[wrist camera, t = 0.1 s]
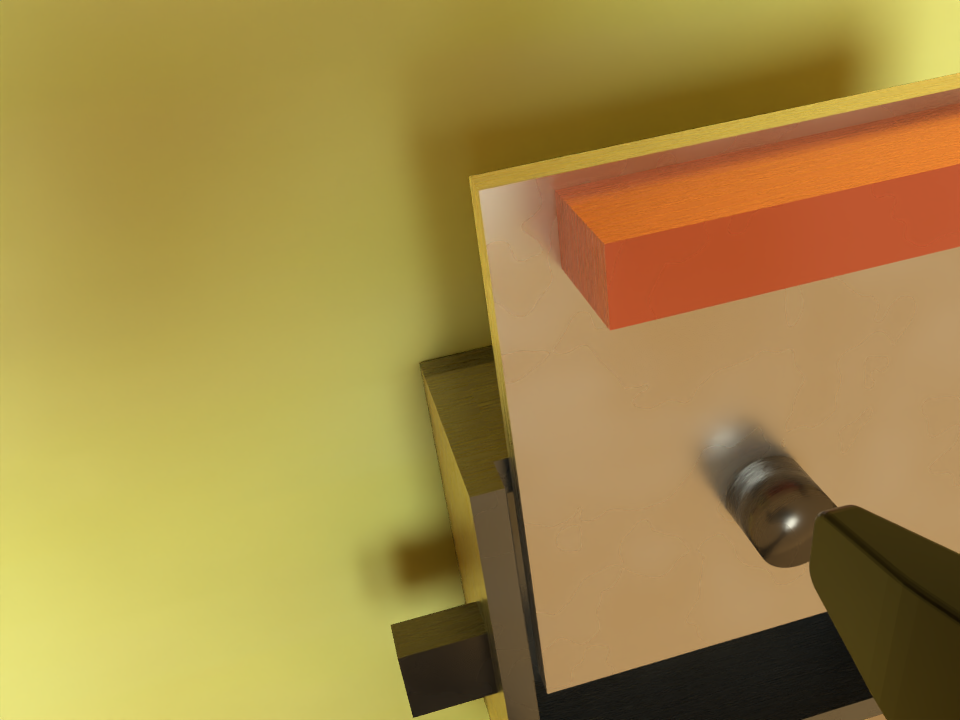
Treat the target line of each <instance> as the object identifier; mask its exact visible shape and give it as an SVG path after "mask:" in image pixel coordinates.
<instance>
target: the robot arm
mask: <svg viewBox="0 0 960 720" xmlns="http://www.w3.org/2000/svg"><path fill="white" fill-rule="evenodd" d="M809 572H810V577H811V580H812V583H813V586H814V588H815V590H816V592H817V594H818V596H819V597H820V599H821V601H822V603H823V605H824V607H825V609H826V611H827V612H828V614H829V616H830V618H831V620H832V622H833V624H834V626H835V627H836V629H837V631H838V633H839V635H840V637H841V639H842V641H843V642H844V644H845V646H846V648H847V650H848V652H849V654H850V656H851V657H852V659H853V661H854V663H855V665H856V667H857V669H858V671H859V672H860V674H861V676H862V678H863V680H864V682H865V684H866V686H867V687H868V689H869V691H870V693H871V694H872V696H873V698H874V700H875V701H876V703H877V705H878V707H879V708H880V710H881V711H882V713H883V715H884V716H885V718H886V719H887V720H960V554H959V553H957V552H955V551H953V550H951V549H949V548H947V547H945V546H942V545H940V544H938V543H936V542H934V541H932V540H930V539H927V538H925V537H923V536H921V535H919V534H917V533H915V532H913V531H910V530H908V529H906V528H904V527H902V526H900V525H898V524H896V523H893V522H891V521H889V520H887V519H885V518H883V517H881V516H878V515H876V514H874V513H872V512H870V511H868V510H866V509H864V508H861V507H859V506H856V505H844V506H840V507H836V508H832V509H828V510H825V511H822V512H820V513H819V514H818V515H817V516H816V518H815V521H814V528H813V536H812V544H811V552H810V560H809Z"/></svg>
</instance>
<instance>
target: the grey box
mask: <svg viewBox="0 0 960 720" xmlns="http://www.w3.org/2000/svg"><path fill="white" fill-rule="evenodd" d="M420 369H421V374H422V379H423V384H424V389H425V395H426V400H427V405H428V410H429V415H430V421H431V426H432V431H433V436H434V441H435V447H436V452H437V457H438V462H439V467H440V473H441V478H442V483H443V488H444V493H445V499H446V504H447V509H448V514H449V519H450V525H451V530H452V535H453V540H454V545H455V551H456V556H457V561H458V566H459V571H460V577H461V582H462V587H463V592H464V597H465V603H466V604H465V605H461V606H457V607H454V608H450V609H447V610H443V611H439V612H436V613H432V614H429V615H425V616H421V617H418V618H414V619H411V620H407V621H403V622H400V623H396V624H393V625H391V629H392V633H393V638H394V643H395V647H396V652H397V657H398V661H399V665H400V669H401V672H402V676H403V680H404V684H405V688H406V692H407V696H408V699H409V703H410V707H411V711H412V715H413V718H414V717H418V716H421V715H424V714H428V713H431V712H435V711H438V710H441V709H445V708H448V707H452V706H455V705H458V704H462V703H465V702H469V701H472V700H476V699H479V698H482V697H484V700H485V703H486V706H487V710H488V713H489V716H490V720H865V719H868V718H871V717H874V716H877V715H880V714H883V713H882V711H881V710H880V708H879V707H878V705H877V703H876V701H875V700H874V698H873V696H872V694H871V693H870V691H869V689H868V687H867V686H866V684H865V682H864V680H863V678H862V676H861V674H860V672H859V671H858V669H857V667H856V665H855V663H854V661H853V659H852V657H851V656H850V654H849V652H848V650H847V648H846V646H845V644H844V642H843V641H842V639H841V637H840V635H839V633H838V631H837V629H836V627H835V626H834V624H833V622H832V620H831V618H830V616H829V614H828V612H823V613H820V614H817V615H813V616H810V617H807V618H803V619H800V620H796V621H793V622H790V623H786V624H783V625H779V626H776V627H773V628H769V629H766V630H763V631H759V632H756V633H752V634H749V635H746V636H742V637H739V638H735V639H732V640H729V641H725V642H722V643H719V644H715V645H712V646H708V647H705V648H702V649H698V650H695V651H691V652H688V653H685V654H681V655H678V656H675V657H671V658H668V659H664V660H661V661H658V662H654V663H651V664H647V665H644V666H641V667H637V668H634V669H631V670H627V671H624V672H620V673H617V674H614V675H610V676H607V677H603V678H600V679H597V680H593V681H590V682H587V683H583V684H580V685H576V686H573V687H570V688H566V689H563V690H559V691H556V692H553V693H549V694H547V692H546V689H545V686H544V684H543V681H542V678H541V676H540V673H539V671H538V664H537V657H536V650H535V643H534V636H533V629H532V622H531V615H530V608H529V600H528V593H527V586H526V579H525V572H524V565H523V558H522V551H521V544H520V537H519V530H518V523H517V516H516V508H515V501H514V494H513V487H512V480H511V473H510V466H509V459H508V452H507V445H506V438H505V431H504V424H503V417H502V409H501V402H500V395H499V388H498V381H497V374H496V367H495V360H494V353H493V346H488V347H484V348H480V349H476V350H471V351H467V352H463V353H459V354H455V355H450V356H446V357H442V358H438V359H434V360H430V361H425V362H421V363H420Z"/></svg>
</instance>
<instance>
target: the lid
mask: <svg viewBox="0 0 960 720" xmlns="http://www.w3.org/2000/svg"><path fill="white" fill-rule="evenodd" d="M469 183H470V190H471V197H472V204H473V211H474V218H475V226H476V233H477V240H478V247H479V254H480V261H481V268H482V275H483V282H484V289H485V296H486V303H487V310H488V317H489V325H490V332H491V339H492V346H493V353H494V360H495V367H496V374H497V381H498V388H499V395H500V402H501V409H502V417H503V424H504V431H505V438H506V445H507V452H508V459H509V466H510V473H511V480H512V487H513V494H514V501H515V508H516V516H517V523H518V530H519V537H520V544H521V551H522V558H523V565H524V572H525V579H526V586H527V593H528V600H529V608H530V615H531V622H532V629H533V636H534V643H535V650H536V657H537V664H538V671H539V673H540V676H541V678H542V681H543V684H544V686H545V689H546V692H547V694H549V693H553V692H556V691H559V690H563V689H566V688H570V687H573V686H576V685H580V684H583V683H587V682H590V681H593V680H597V679H600V678H603V677H607V676H610V675H614V674H617V673H620V672H624V671H627V670H631V669H634V668H637V667H641V666H644V665H647V664H651V663H654V662H658V661H661V660H664V659H668V658H671V657H675V656H678V655H681V654H685V653H688V652H691V651H695V650H698V649H702V648H705V647H708V646H712V645H715V644H719V643H722V642H725V641H729V640H732V639H735V638H739V637H742V636H746V635H749V634H752V633H756V632H759V631H763V630H766V629H769V628H773V627H776V626H779V625H783V624H786V623H790V622H793V621H796V620H800V619H803V618H807V617H810V616H813V615H817V614H820V613H823V612H827V611H826V609H825V607H824V605H823V603H822V601H821V599H820V597H819V596H818V594H817V592H816V590H815V588H814V586H813V583H812V580H811V577H810V572H809V560H810V552H811V544H812V536H813V528H814V521H815V518H816V516H817V515H818V514H819V513H820V512H822V511H825V510H828V509H832V508H836V507H840V506H844V505H856V506H859V507H861V508H864V509H866V510H868V511H870V512H872V513H874V514H876V515H878V516H881V517H883V518H885V519H887V520H889V521H891V522H893V523H896V524H898V525H900V526H902V527H904V528H906V529H908V530H910V531H913V532H915V533H917V534H919V535H921V536H923V537H925V538H927V539H930V540H932V541H934V542H936V543H938V544H940V545H942V546H945V547H947V548H949V549H951V550H953V551H955V552H957V553H959V554H960V73H956V74H952V75H947V76H942V77H937V78H933V79H928V80H923V81H919V82H914V83H909V84H904V85H900V86H895V87H890V88H885V89H881V90H876V91H871V92H866V93H862V94H857V95H852V96H847V97H843V98H838V99H833V100H828V101H824V102H819V103H814V104H810V105H805V106H800V107H795V108H791V109H786V110H781V111H776V112H772V113H767V114H762V115H757V116H753V117H748V118H743V119H738V120H734V121H729V122H724V123H720V124H715V125H710V126H705V127H701V128H696V129H691V130H686V131H682V132H677V133H672V134H667V135H663V136H658V137H653V138H648V139H644V140H639V141H634V142H629V143H625V144H620V145H615V146H611V147H606V148H601V149H596V150H592V151H587V152H582V153H577V154H573V155H568V156H563V157H558V158H554V159H549V160H544V161H539V162H535V163H530V164H525V165H520V166H516V167H511V168H506V169H502V170H497V171H492V172H487V173H483V174H478V175H473V176H469Z"/></svg>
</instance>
